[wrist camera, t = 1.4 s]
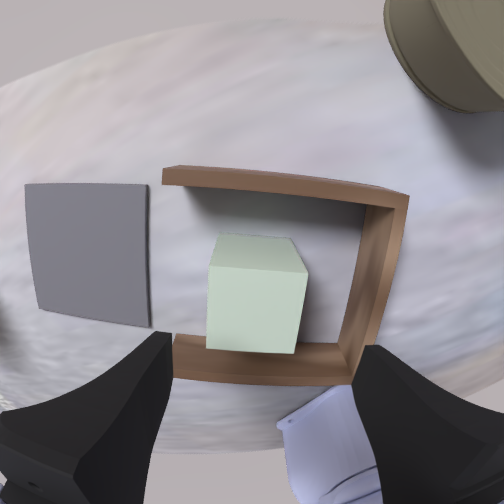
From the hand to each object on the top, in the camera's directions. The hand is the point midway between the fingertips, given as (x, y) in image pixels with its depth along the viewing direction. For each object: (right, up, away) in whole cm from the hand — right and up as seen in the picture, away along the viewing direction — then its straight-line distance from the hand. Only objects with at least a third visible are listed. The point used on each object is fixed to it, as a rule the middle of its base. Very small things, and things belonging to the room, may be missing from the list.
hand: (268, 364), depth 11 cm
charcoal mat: (-13, +4, +9) cm, 16 cm away
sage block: (-1, +3, +10) cm, 10 cm away
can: (+14, +20, +5) cm, 25 cm away
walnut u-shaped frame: (0, +3, +9) cm, 10 cm away
